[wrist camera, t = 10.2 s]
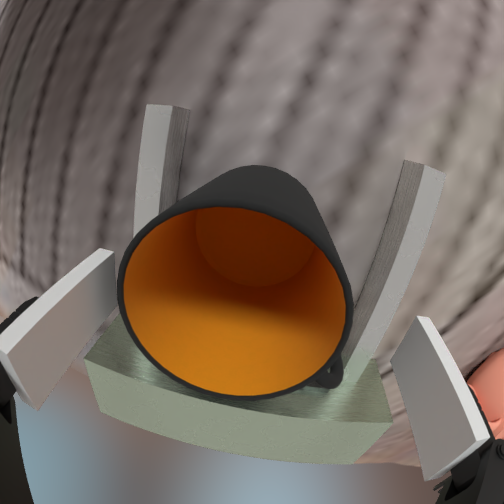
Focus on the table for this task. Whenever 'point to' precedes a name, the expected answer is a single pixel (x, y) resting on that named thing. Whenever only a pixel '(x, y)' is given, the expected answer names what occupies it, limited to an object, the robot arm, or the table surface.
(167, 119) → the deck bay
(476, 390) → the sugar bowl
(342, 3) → the table surface
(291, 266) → the mug
